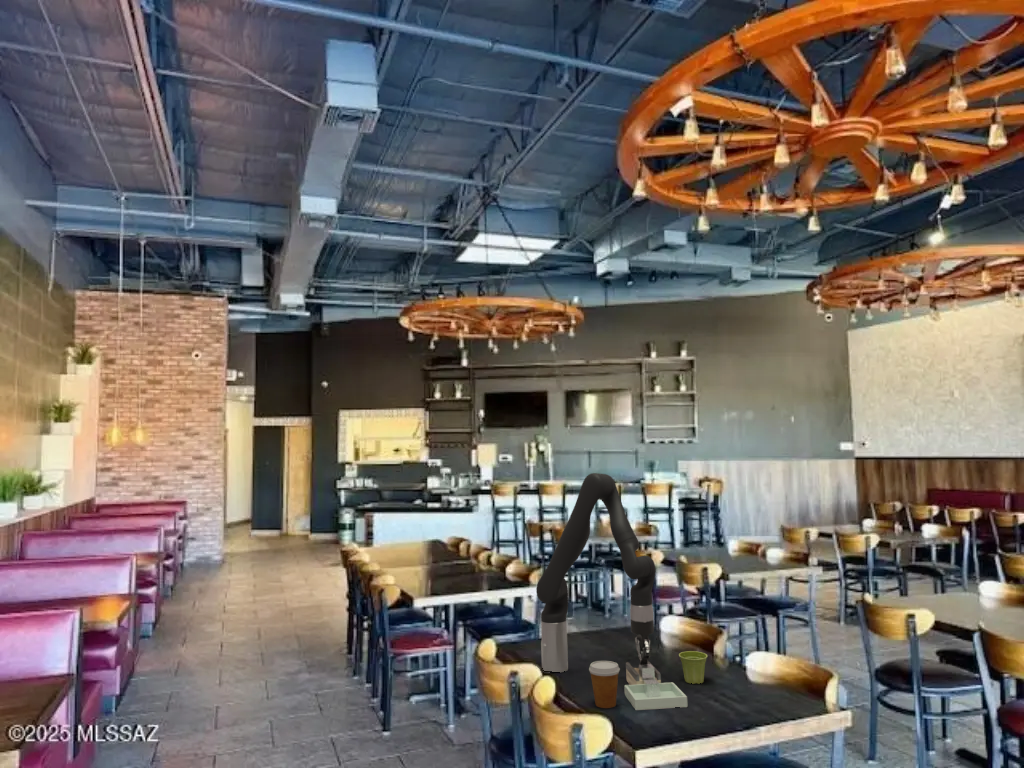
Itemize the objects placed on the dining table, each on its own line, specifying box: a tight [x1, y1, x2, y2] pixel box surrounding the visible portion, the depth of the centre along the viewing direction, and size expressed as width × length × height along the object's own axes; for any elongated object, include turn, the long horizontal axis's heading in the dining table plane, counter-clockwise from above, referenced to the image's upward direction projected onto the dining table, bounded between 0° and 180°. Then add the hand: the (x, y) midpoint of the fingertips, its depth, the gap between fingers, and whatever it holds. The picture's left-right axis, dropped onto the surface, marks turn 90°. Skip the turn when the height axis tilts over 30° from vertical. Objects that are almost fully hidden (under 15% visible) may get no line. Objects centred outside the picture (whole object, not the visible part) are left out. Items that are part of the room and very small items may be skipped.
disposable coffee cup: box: [588, 660, 621, 709], centre depth 223 cm, size 10×10×12 cm
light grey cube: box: [638, 663, 655, 681], centre depth 234 cm, size 4×4×4 cm
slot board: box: [625, 660, 662, 685], centre depth 239 cm, size 8×14×6 cm, turn 5°
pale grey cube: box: [643, 679, 660, 697], centre depth 229 cm, size 4×4×4 cm
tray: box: [623, 682, 688, 711], centre depth 225 cm, size 16×14×3 cm
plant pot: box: [678, 650, 708, 685], centre depth 242 cm, size 9×9×9 cm
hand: (643, 671), depth 238 cm, fingers closed
